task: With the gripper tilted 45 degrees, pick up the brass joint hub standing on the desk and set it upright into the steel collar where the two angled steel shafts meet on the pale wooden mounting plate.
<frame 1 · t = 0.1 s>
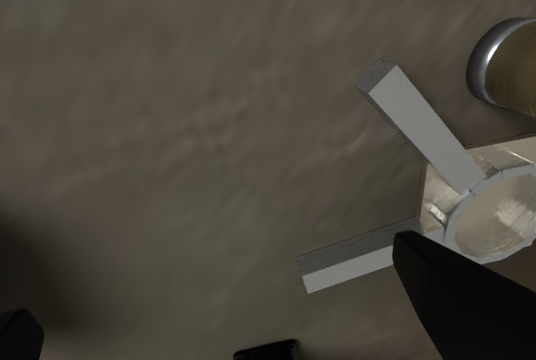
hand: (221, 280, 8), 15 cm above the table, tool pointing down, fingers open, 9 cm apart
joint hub: (503, 61, 22), on the table
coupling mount: (481, 202, 28), on the table
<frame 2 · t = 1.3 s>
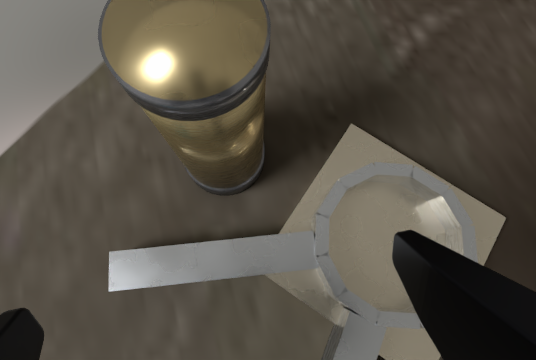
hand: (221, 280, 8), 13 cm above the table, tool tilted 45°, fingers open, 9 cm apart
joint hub: (225, 157, 23), on the table
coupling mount: (381, 243, 22), on the table
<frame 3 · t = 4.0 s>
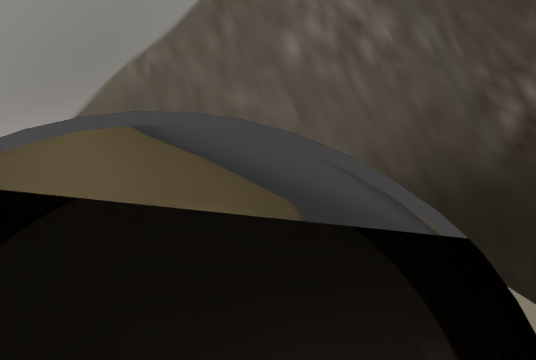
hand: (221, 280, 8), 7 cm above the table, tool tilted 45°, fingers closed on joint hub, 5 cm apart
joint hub: (243, 306, 14), on the table, touching gripper
when the fingers open (8 cm above the table, at t = 7.9 s): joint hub drops 1 cm, resting on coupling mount.
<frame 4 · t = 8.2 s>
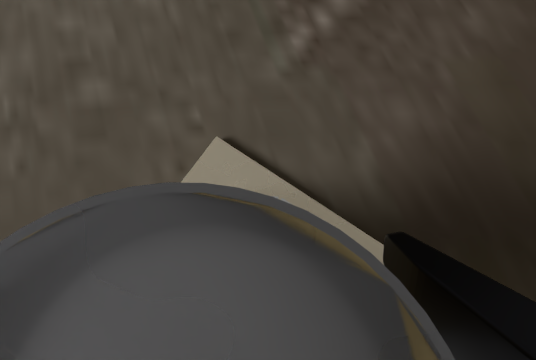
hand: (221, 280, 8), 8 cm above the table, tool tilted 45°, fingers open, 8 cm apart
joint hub: (244, 305, 15), point 1 cm above the table, touching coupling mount
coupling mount: (245, 301, 16), on the table
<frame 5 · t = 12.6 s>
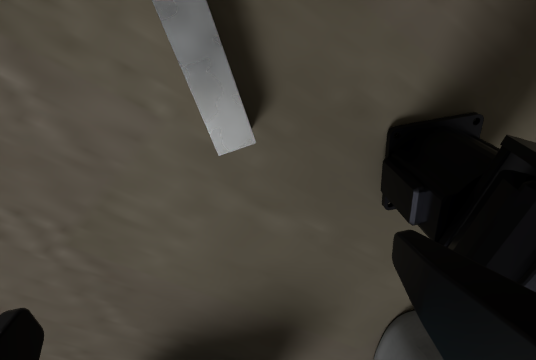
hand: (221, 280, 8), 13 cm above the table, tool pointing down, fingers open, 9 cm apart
flask: (396, 353, 36), on the table
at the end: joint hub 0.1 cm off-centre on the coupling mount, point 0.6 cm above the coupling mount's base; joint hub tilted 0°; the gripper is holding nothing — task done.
